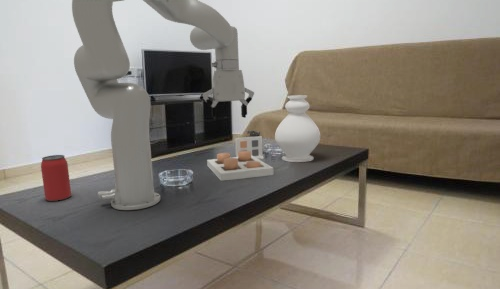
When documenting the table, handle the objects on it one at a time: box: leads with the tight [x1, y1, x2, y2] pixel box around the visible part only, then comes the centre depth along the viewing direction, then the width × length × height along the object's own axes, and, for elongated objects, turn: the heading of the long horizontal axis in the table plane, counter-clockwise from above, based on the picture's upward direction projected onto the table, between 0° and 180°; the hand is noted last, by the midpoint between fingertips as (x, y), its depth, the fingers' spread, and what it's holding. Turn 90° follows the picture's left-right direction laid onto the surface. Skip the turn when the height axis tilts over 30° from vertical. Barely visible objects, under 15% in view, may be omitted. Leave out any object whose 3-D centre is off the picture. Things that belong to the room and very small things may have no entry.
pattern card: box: [234, 135, 265, 160], centre depth 143 cm, size 11×4×9 cm, turn 108°
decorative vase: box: [274, 94, 321, 163], centre depth 140 cm, size 18×18×25 cm
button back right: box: [238, 151, 251, 161], centre depth 132 cm, size 5×5×3 cm
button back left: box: [216, 152, 231, 164], centre depth 129 cm, size 5×5×3 cm
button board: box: [206, 156, 275, 182], centre depth 126 cm, size 18×22×2 cm
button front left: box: [224, 157, 238, 170], centre depth 120 cm, size 5×5×3 cm
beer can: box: [40, 154, 72, 202], centre depth 100 cm, size 7×7×12 cm
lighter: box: [245, 129, 264, 155], centre depth 155 cm, size 8×3×10 cm, turn 58°
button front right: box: [246, 161, 260, 168], centre depth 123 cm, size 5×5×3 cm
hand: (229, 118), depth 119 cm, fingers open, 9 cm apart
